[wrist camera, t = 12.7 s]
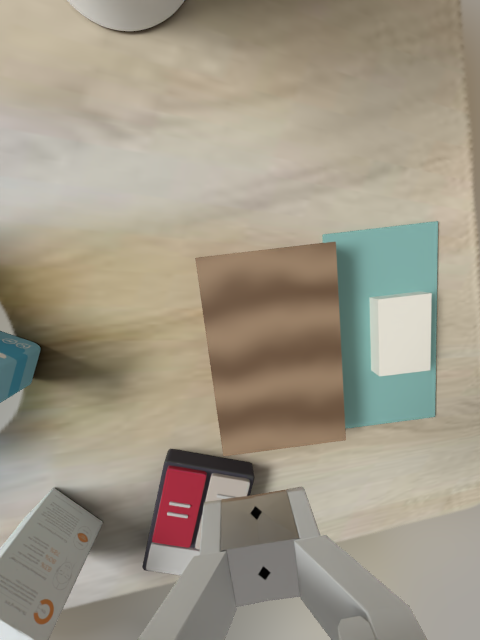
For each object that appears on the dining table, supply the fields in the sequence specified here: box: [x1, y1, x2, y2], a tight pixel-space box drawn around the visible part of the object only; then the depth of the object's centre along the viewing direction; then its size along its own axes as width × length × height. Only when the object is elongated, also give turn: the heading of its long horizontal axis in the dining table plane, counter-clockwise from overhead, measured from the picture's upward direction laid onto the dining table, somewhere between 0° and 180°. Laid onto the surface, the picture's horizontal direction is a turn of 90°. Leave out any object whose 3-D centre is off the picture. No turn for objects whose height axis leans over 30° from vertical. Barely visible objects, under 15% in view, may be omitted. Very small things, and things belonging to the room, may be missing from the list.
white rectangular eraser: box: [369, 292, 432, 376], centre depth 34 cm, size 9×6×2 cm, turn 6°
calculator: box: [143, 449, 254, 575], centre depth 38 cm, size 11×4×15 cm
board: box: [195, 242, 346, 456], centre depth 33 cm, size 22×14×4 cm, turn 7°
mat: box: [322, 221, 438, 429], centre depth 35 cm, size 24×13×1 cm, turn 7°
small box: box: [0, 488, 103, 640], centre depth 32 cm, size 8×6×13 cm
